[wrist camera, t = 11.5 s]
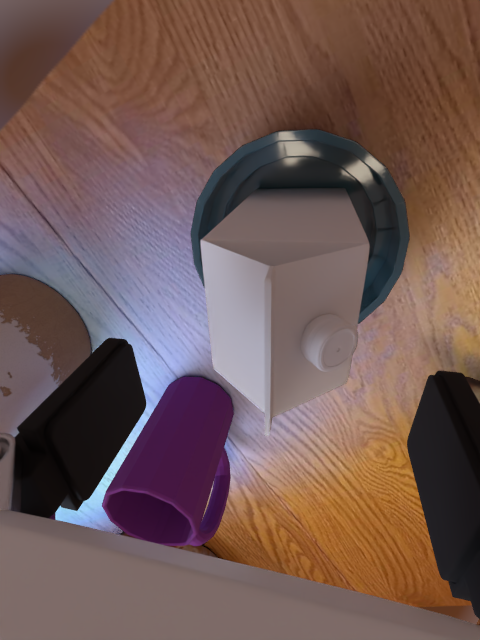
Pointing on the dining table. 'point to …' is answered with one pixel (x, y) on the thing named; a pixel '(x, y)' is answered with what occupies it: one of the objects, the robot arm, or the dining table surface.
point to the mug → (176, 468)
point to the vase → (35, 346)
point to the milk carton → (285, 294)
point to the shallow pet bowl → (315, 172)
